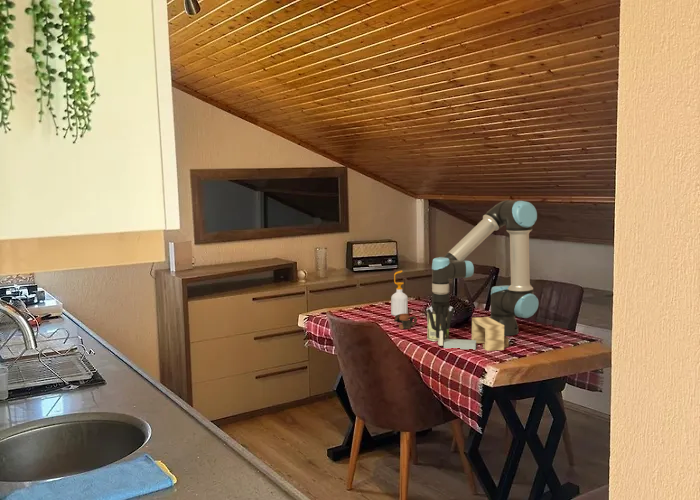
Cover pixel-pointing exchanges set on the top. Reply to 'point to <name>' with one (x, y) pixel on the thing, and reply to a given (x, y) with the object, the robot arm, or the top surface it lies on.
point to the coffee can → (432, 333)
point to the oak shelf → (489, 333)
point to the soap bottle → (399, 300)
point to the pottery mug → (405, 321)
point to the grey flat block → (460, 344)
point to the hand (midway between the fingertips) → (440, 344)
